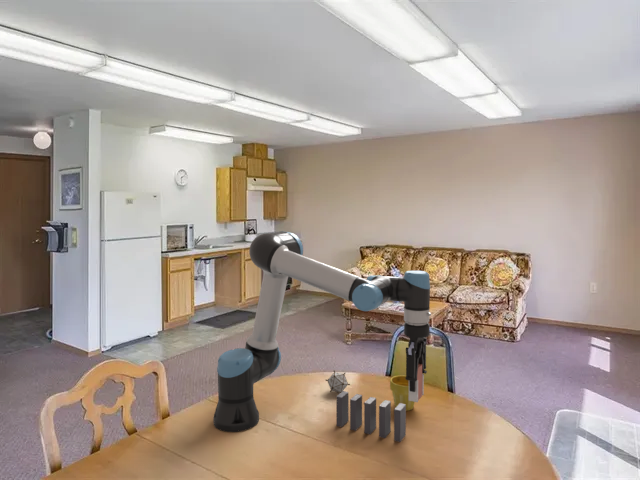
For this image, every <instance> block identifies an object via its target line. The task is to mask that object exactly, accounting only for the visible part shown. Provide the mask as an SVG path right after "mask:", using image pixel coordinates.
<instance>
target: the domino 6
mask: <svg viewBox="0 0 640 480" xmlns="http://www.w3.org/2000/svg"><path fill="white" fill-rule="evenodd" d="M417 380H418V402H419V401H420V399H421V398H422V396H423V395H422V364H418V374H417Z"/></svg>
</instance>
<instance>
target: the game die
mask: <svg viewBox="0 0 640 480" xmlns="http://www.w3.org/2000/svg"><path fill="white" fill-rule="evenodd" d="M325 382H327V384H328V386H329V388H330V390H329V392H330V393H332V392H336V393H338V394H340V393H341V392H342V391H345V389H346V388H347V386H351V384H350V383H348V382H349V381H348V380H347V377H346V372H344V373H341V372H336V370H333V373H332V374H331V376H330V377H329V378H327V379H325Z"/></svg>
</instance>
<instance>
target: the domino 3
mask: <svg viewBox="0 0 640 480" xmlns="http://www.w3.org/2000/svg"><path fill="white" fill-rule="evenodd" d="M363 405H364V406H363V407H364V408H363V411H364V412H363V413H364V414H363V415H364V419H363V421H364V425H363V427H364V428H363V429H364V431H363V433H364V434H367V435H371V434H372V433H374V430H376V429H377V398H376V397H373V396H369V398H368V399H367V400H365V401H364V403H363Z"/></svg>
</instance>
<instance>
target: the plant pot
mask: <svg viewBox="0 0 640 480" xmlns="http://www.w3.org/2000/svg"><path fill="white" fill-rule="evenodd" d="M389 382H390V383H389V384H390V385H389V388H390V391H392V399H393V403H394V408H396V407H397V406H398V404H399V403H402V404H406V412H407V411H411V410H413V409H414V406H415V403H416V402H413V401H409V380H406V374H405V375H404V374H403V375H394V376H392V377H391V378H390V380H389Z"/></svg>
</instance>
